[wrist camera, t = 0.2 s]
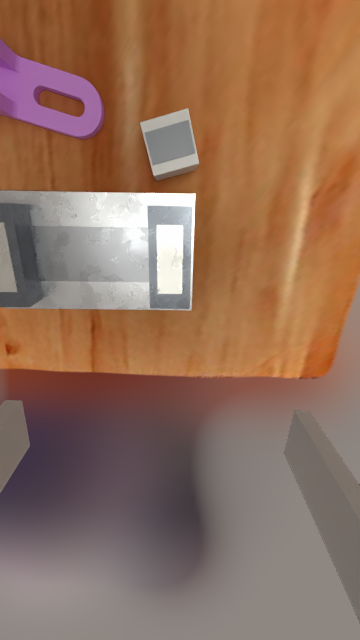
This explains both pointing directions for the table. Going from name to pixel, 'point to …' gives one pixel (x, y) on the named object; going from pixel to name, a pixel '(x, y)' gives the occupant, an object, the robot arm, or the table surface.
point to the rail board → (96, 250)
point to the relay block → (170, 144)
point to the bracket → (32, 78)
